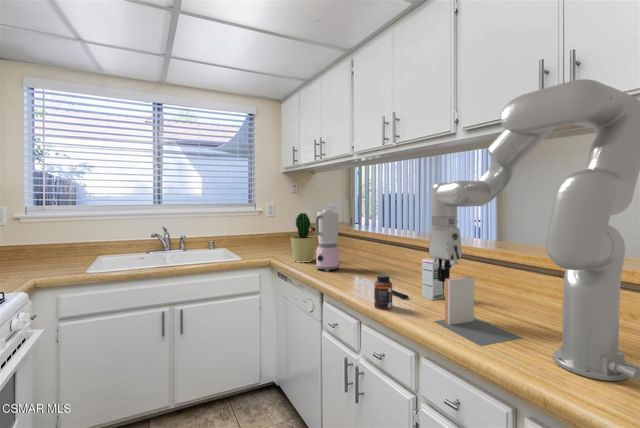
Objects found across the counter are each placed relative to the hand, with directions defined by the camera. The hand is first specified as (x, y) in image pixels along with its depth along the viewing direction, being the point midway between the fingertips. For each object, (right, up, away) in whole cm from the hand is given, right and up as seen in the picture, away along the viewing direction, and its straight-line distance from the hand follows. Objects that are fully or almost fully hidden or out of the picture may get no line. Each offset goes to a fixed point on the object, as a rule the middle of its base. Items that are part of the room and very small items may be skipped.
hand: (443, 280), depth 105 cm
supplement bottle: (-17, -11, +8) cm, 22 cm away
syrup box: (+4, -11, +21) cm, 24 cm away
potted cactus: (-49, -8, +99) cm, 110 cm away
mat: (+4, -12, -12) cm, 17 cm away
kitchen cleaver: (-15, -11, +32) cm, 37 cm away
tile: (+2, -11, -6) cm, 13 cm away
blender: (-36, -9, +73) cm, 81 cm away
